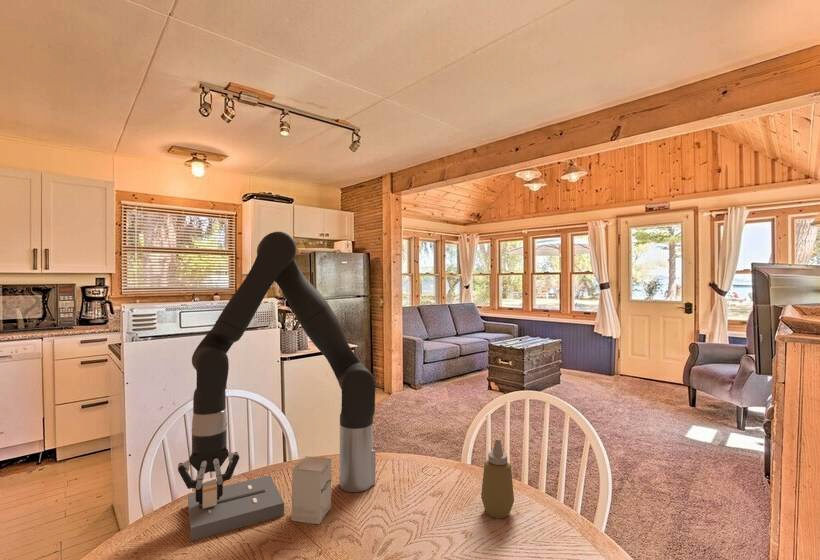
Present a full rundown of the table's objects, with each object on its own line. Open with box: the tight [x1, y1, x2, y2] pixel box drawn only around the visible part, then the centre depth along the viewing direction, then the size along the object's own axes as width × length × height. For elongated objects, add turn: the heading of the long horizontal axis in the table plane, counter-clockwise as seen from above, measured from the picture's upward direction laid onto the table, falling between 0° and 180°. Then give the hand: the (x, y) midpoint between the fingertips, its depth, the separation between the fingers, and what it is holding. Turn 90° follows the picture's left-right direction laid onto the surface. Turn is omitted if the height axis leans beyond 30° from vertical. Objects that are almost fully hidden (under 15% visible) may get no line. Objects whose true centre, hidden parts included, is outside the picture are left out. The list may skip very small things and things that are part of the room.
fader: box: [202, 476, 217, 509], centre depth 98 cm, size 3×4×5 cm
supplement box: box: [291, 455, 332, 525], centre depth 99 cm, size 7×7×13 cm
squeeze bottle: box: [480, 438, 515, 519], centre depth 101 cm, size 8×8×18 cm
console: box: [187, 475, 285, 542], centre depth 101 cm, size 20×16×3 cm
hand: (209, 500), depth 98 cm, fingers closed on fader, 3 cm apart
